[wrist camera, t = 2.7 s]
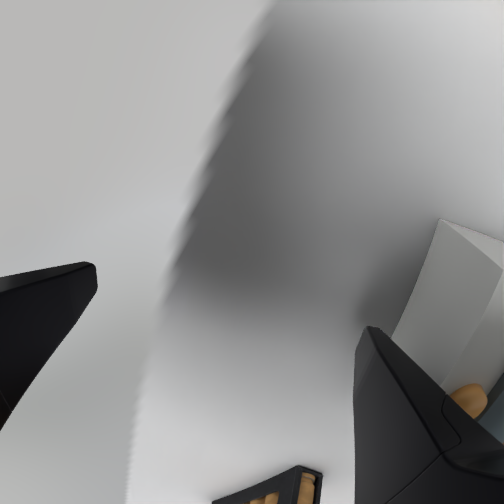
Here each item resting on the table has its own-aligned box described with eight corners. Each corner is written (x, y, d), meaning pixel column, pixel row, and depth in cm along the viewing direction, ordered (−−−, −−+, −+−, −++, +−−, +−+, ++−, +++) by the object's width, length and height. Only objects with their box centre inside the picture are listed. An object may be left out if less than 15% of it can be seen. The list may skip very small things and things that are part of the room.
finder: (534, 254, 8) (603, 312, 4) (458, 394, 10) (483, 470, 6) (437, 217, 8) (513, 278, 4) (364, 384, 11) (372, 477, 7)
